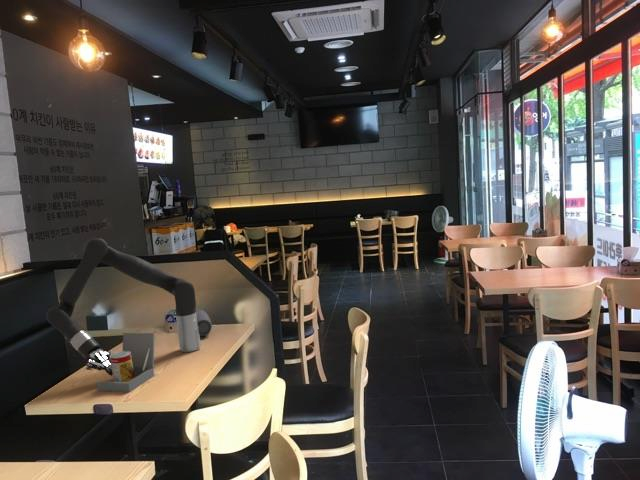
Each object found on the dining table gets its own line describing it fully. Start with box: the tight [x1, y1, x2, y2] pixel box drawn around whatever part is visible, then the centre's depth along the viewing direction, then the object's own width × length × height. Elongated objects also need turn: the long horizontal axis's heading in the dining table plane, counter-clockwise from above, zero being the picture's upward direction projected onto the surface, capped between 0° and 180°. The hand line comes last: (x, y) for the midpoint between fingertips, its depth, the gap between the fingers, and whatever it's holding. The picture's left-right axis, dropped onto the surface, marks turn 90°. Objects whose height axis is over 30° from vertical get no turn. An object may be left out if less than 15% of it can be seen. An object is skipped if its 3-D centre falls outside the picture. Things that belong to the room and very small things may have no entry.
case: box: [95, 332, 156, 393], centre depth 213 cm, size 15×20×17 cm
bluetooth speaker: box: [196, 309, 213, 336], centre depth 274 cm, size 23×9×10 cm, turn 17°
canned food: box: [110, 350, 136, 382], centre depth 212 cm, size 8×8×12 cm
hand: (113, 373), depth 213 cm, fingers closed
